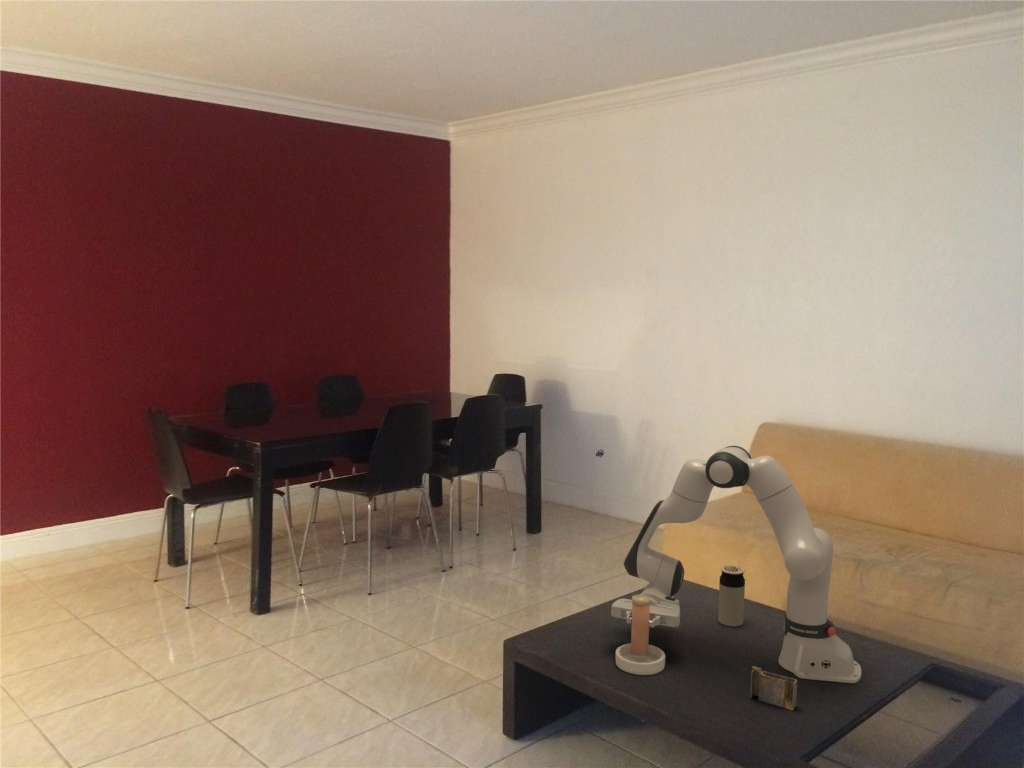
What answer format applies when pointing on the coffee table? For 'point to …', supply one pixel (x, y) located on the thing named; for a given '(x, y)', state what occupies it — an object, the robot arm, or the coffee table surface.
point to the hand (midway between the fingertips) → (639, 622)
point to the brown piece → (773, 688)
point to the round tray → (640, 660)
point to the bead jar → (640, 624)
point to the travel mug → (731, 596)
